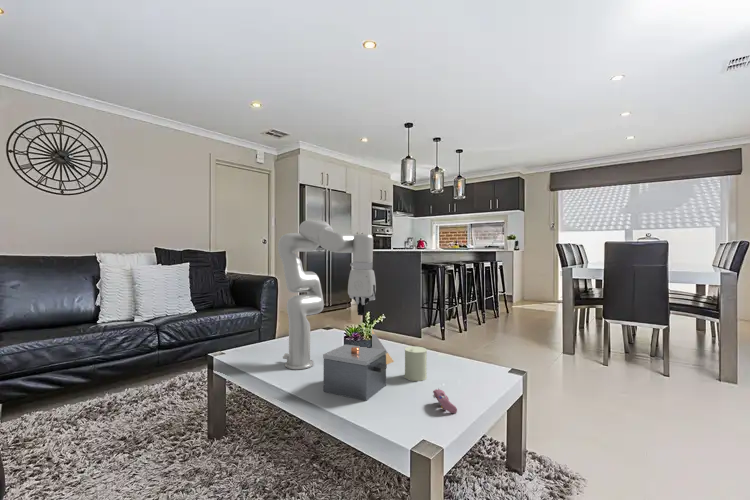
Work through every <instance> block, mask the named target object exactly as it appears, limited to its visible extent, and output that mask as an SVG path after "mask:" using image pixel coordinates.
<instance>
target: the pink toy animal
mask: <svg viewBox="0 0 750 500" xmlns="http://www.w3.org/2000/svg"><path fill="white" fill-rule="evenodd" d="M432 393H433V395H432V397H433V399H436V400H437V402H438V404H439V405H440V408H441V409H442V410H443V411H447V412H449V413H450V414H456V413H458V408H457V407H456V405H454V404H453V403H452V402H450V399H449V397H448V396H447V395H446V392H445V391H443V390H442V389H440V388H436V389H434V390H432Z"/></svg>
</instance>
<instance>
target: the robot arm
mask: <svg viewBox="0 0 750 500" xmlns="http://www.w3.org/2000/svg"><path fill="white" fill-rule="evenodd" d="M319 247H321V248H322V249H324V250H326V251H330V252H333V253H336V254H337V253H339V254H342V253H343V254H345V253H347V254H352V262H350V265H349V266H350V267H352V269H350V272H349V277H348V282H347V283H348V284H347V294H348V296H349V298H350V299H352V300H354V302H355V304H356V305H357V307H356V308H357V309H356V310H357V311H356V312H357V315H358V316H364V315H366V313H367V304H369V302H371V301H375V300H376V296H375V295H376V291H377V284H376V275H375V270H373V267H374V265H373V264H374V263H373V260H374V259H373V257H374V254H373V253H374V237H373V235H372V234H368V233H367V234H366V233H358V234H356V233H343V232H342V233H341V232H340V233H339V232H335V231H334V228H333V227H332V226H331V225H330V224H329V223H328V222H327V221H324V220H313V219H307V220H304V221H302V222H301V223H300V225H299V227H298V232H289V233H288V232H287V233H285V234H282V235H281V237H280V238H279V240H278V243H277V251H278V255H279V257H280V260H281V262H282V266H283V273H284V278H285V279H284V281H285V284H286V289H287V290H288V292H289V293H292V294H294V293H296V294H297V293H306V294H300V295H299V294H298V295H293V296H291V297H290V298H289V299H288V300H287V302H286V311H287V312H286V313H287V316H288V353H284V355H283V356H282V359H284V360H286V362H285V363H284V365H285V367H286V368H287V369H289V370H305V369H309V368H311V367H313V366H314V364H315V363H314V360H313V359H311V324H310V321H309V320H308V318H307V316H311V315H318V314H320V313H321V312H322V311H323V310H324V306H325V303H324V302H325V301H324V295H323V290H322V284H321V281H320V277H319V275H318V274H317V273H315V272H314V271H311V270H310V271H308V270H307V271H304V269H303V262H302V260H301V258H300V257H299V256H298V255H297V254H296V252H298V253H299V252H305V253H306V252H307V253H308V252H313V251H316V249H318V248H319Z"/></svg>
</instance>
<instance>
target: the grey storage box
mask: <svg viewBox="0 0 750 500" xmlns="http://www.w3.org/2000/svg"><path fill="white" fill-rule="evenodd" d="M387 365H388V364H386V354H385V355H383V356H382V357H380V358H378V359H377V360H375V361H373V362H372V363H370V364H368V365H367V366H364V365H359V364H353V363H347V362H341V361H335V360H329V359H324V358H323V385H322V386H323V387H322V388H323V391H324V392H325V393H328V394H332V395H333V394H334V395H338V396H342V397H346V398H352V399H356V400H360V401H364V402H367V401H368V400H370V399H371V398H372V397H373V396H375V395H376V394H377V393H379V391H381V390H382V389H383V388H384V387H386V386H387V369H388V368H387Z"/></svg>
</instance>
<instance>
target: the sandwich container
mask: <svg viewBox="0 0 750 500" xmlns="http://www.w3.org/2000/svg"><path fill="white" fill-rule="evenodd" d="M372 348H374V349H381V350H386V364H387V365H390V364H392V363H394V362H395V361H394V359H393V357H391V355H390V353H388V350H387V349H386V348H385V347H384V344H383V343H382V342H381V341H380V339H379V337H378V336H377V334H375V332H374V330H373V329H372Z"/></svg>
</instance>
